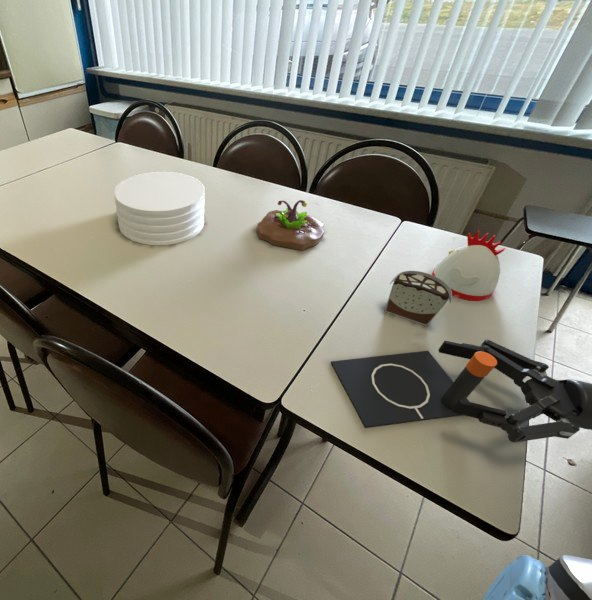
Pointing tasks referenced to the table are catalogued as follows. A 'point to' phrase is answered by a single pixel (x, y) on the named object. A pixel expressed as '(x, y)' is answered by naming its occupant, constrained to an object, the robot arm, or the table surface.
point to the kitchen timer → (471, 269)
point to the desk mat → (395, 387)
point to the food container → (417, 296)
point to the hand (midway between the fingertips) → (448, 374)
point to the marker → (469, 378)
